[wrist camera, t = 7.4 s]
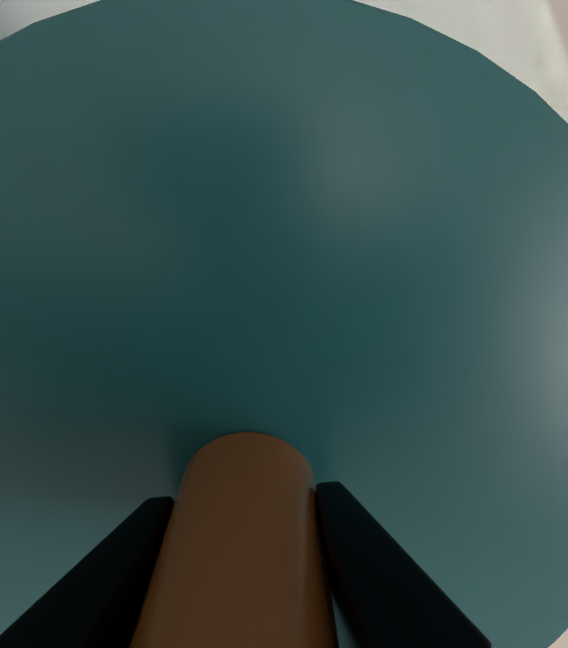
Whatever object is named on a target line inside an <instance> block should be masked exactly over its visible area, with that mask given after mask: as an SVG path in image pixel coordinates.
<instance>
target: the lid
mask: <svg viewBox="0 0 568 648" xmlns="http://www.w3.org/2000/svg"><path fill="white" fill-rule="evenodd" d="M330 481H339V482H341V483H342V484H343V485H344V486H345V487H346V488H347V489H348V490H349V491H350V493H351V494H352V495H353V496H354V497H355V498H356V499H357V500H358V501H359V502H360V503H361V504H362V505H363V506H364V507H365V508H366V509H367V511H368V512H369V513H370V514H371V515H372V516H373V517H374V518H375V519H376V520H377V521H378V522H379V523H380V524H381V525H382V526H383V528H384V529H385V530H386V531H387V532H388V533H389V534H390V535H391V536H392V537H393V538H394V539H395V540H396V541H397V542H398V543H399V545H400V546H401V547H402V548H403V549H404V550H405V551H406V552H407V553H408V554H409V555H410V556H411V557H412V558H413V559H414V560H415V561H416V563H417V564H418V565H419V566H420V567H421V568H422V569H423V570H424V571H425V572H426V573H427V574H428V575H429V576H430V577H431V578H432V580H433V581H434V582H435V583H436V584H437V585H438V586H439V587H440V588H441V589H442V590H443V591H444V592H445V593H446V594H447V595H448V596H449V598H450V599H451V600H452V601H453V602H454V603H455V604H456V605H457V606H458V607H459V608H460V609H461V610H462V611H463V612H464V613H465V615H466V616H467V617H468V618H469V619H470V620H471V621H472V622H473V623H474V624H475V625H476V626H477V627H478V628H479V629H480V630H481V631H482V633H483V634H484V635H485V636H486V637H487V638H488V639H489V640H490V641H491V643H492V648H548V647H549V646H550V645H551V644H553V643H554V642H555V641H556V640H557V639H558V638H559V637H560V636H561V634H563V633H564V632H565V631H566V630H567V628H568V123H567V122H566V121H565V120H564V119H562V118H561V117H560V116H559V115H558V114H557V113H556V112H555V111H554V110H553V109H552V108H551V107H550V106H549V105H548V104H547V103H546V102H545V101H544V100H543V99H542V98H541V97H540V96H539V95H538V94H537V93H536V92H535V91H533V90H532V89H531V88H529V87H528V86H526V85H525V84H523V83H522V82H521V81H519V80H518V79H516V78H515V77H513V76H512V75H511V74H509V73H508V72H506V71H505V70H504V69H502V68H501V67H499V66H498V65H496V64H495V63H494V62H492V61H491V60H489V59H488V58H486V57H485V56H484V55H482V54H481V53H479V52H478V51H476V50H474V49H472V48H470V47H468V46H466V45H464V44H462V43H460V42H458V41H456V40H454V39H452V38H450V37H448V36H446V35H444V34H442V33H440V32H438V31H436V30H433V29H431V28H429V27H427V26H425V25H423V24H421V23H419V22H417V21H415V20H413V19H411V18H408V17H405V16H401V15H398V14H395V13H392V12H389V11H385V10H382V9H379V8H376V7H372V6H369V5H366V4H363V3H360V2H356V1H353V0H100V1H97V2H94V3H91V4H88V5H85V6H82V7H79V8H77V9H74V10H71V11H68V12H65V13H62V14H59V15H56V16H53V17H50V18H47V19H44V20H41V21H38V22H35V23H33V24H31V25H29V26H27V27H25V28H23V29H21V30H20V31H18V32H16V33H14V34H12V35H10V36H8V37H6V38H5V39H3V40H1V41H0V634H2V633H3V632H4V631H5V630H6V629H7V628H8V627H9V626H10V625H11V624H12V623H13V622H15V621H16V620H17V619H18V618H19V617H20V616H21V615H22V614H23V613H24V612H25V611H26V610H27V609H29V608H30V607H31V606H32V605H33V604H34V603H35V602H36V601H37V600H38V599H39V598H40V597H42V596H43V595H44V594H45V593H46V592H47V591H48V590H49V589H50V588H51V587H52V586H53V585H54V584H56V583H57V582H58V581H59V580H60V579H61V578H62V577H63V576H64V575H65V574H66V573H67V572H69V571H70V570H71V569H72V568H73V567H74V566H75V565H76V564H77V563H78V562H79V561H80V560H82V559H83V558H84V557H85V556H86V555H87V554H88V553H89V552H90V551H91V550H92V549H93V548H94V547H96V546H97V545H98V544H99V543H100V542H101V541H102V540H103V539H104V538H105V537H106V536H107V535H109V534H110V533H111V532H112V531H113V530H114V529H115V528H116V527H117V526H118V525H119V524H120V523H121V522H123V521H124V520H125V519H126V518H127V517H128V516H129V515H130V514H131V513H132V512H133V511H134V510H136V509H137V508H138V507H139V506H140V505H141V504H142V503H143V502H144V501H145V500H147V499H148V498H152V497H162V496H171V497H172V498H173V499H174V501H175V503H174V506H173V509H172V512H171V515H170V519H169V522H168V525H167V528H166V531H165V535H164V538H163V541H162V544H161V547H160V551H159V554H158V557H157V560H156V563H155V567H154V570H153V573H152V576H151V579H150V582H149V586H148V589H147V592H146V595H145V598H144V602H143V605H142V608H141V611H140V614H139V618H138V621H137V624H136V627H135V630H134V634H133V637H132V640H131V643H130V646H129V648H340V647H339V641H338V634H337V627H336V621H335V614H334V608H333V601H332V594H331V588H330V581H329V574H328V568H327V563H326V557H325V551H324V544H323V537H322V531H321V524H320V517H319V510H318V504H317V497H316V485H317V483H319V482H330Z"/></svg>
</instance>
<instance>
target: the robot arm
mask: <svg viewBox="0 0 568 648" xmlns="http://www.w3.org/2000/svg"><path fill="white" fill-rule="evenodd" d="M316 497H317V504H318V510H319V517H320V524H321V531H322V537H323V544H324V551H325V557H326V563H327V568H328V574H329V581H330V588H331V594H332V601H333V608H334V614H335V621H336V627H337V634H338V641H339V647H340V648H492V643H491V641H490V640H489V639H488V638H487V637H486V636H485V635H484V634H483V633H482V631H481V630H480V629H479V628H478V627H477V626H476V625H475V624H474V623H473V622H472V621H471V620H470V619H469V618H468V617H467V616H466V615H465V613H464V612H463V611H462V610H461V609H460V608H459V607H458V606H457V605H456V604H455V603H454V602H453V601H452V600H451V599H450V598H449V596H448V595H447V594H446V593H445V592H444V591H443V590H442V589H441V588H440V587H439V586H438V585H437V584H436V583H435V582H434V581H433V580H432V578H431V577H430V576H429V575H428V574H427V573H426V572H425V571H424V570H423V569H422V568H421V567H420V566H419V565H418V564H417V563H416V561H415V560H414V559H413V558H412V557H411V556H410V555H409V554H408V553H407V552H406V551H405V550H404V549H403V548H402V547H401V546H400V545H399V543H398V542H397V541H396V540H395V539H394V538H393V537H392V536H391V535H390V534H389V533H388V532H387V531H386V530H385V529H384V528H383V526H382V525H381V524H380V523H379V522H378V521H377V520H376V519H375V518H374V517H373V516H372V515H371V514H370V513H369V512H368V511H367V509H366V508H365V507H364V506H363V505H362V504H361V503H360V502H359V501H358V500H357V499H356V498H355V497H354V496H353V495H352V494H351V493H350V491H349V490H348V489H347V488H346V487H345V486H344V485H343V484H342V483H341V482H339V481H330V482H319V483H317V485H316ZM174 503H175V501H174V499H173V498H172V497H171V496H162V497H152V498H148V499H147V500H145V501H144V502H143V503H142V504H141V505H140V506H139V507H138V508H137V509H136V510H134V511H133V512H132V513H131V514H130V515H129V516H128V517H127V518H126V519H125V520H124V521H123V522H121V523H120V524H119V525H118V526H117V527H116V528H115V529H114V530H113V531H112V532H111V533H110V534H109V535H107V536H106V537H105V538H104V539H103V540H102V541H101V542H100V543H99V544H98V545H97V546H96V547H94V548H93V549H92V550H91V551H90V552H89V553H88V554H87V555H86V556H85V557H84V558H83V559H82V560H80V561H79V562H78V563H77V564H76V565H75V566H74V567H73V568H72V569H71V570H70V571H69V572H67V573H66V574H65V575H64V576H63V577H62V578H61V579H60V580H59V581H58V582H57V583H56V584H54V585H53V586H52V587H51V588H50V589H49V590H48V591H47V592H46V593H45V594H44V595H43V596H42V597H40V598H39V599H38V600H37V601H36V602H35V603H34V604H33V605H32V606H31V607H30V608H29V609H27V610H26V611H25V612H24V613H23V614H22V615H21V616H20V617H19V618H18V619H17V620H16V621H15V622H13V623H12V624H11V625H10V626H9V627H8V628H7V629H6V630H5V631H4V632H3V633H2V634H0V648H129V646H130V643H131V640H132V637H133V634H134V630H135V627H136V624H137V621H138V618H139V614H140V611H141V608H142V605H143V602H144V598H145V595H146V592H147V589H148V586H149V582H150V579H151V576H152V573H153V570H154V567H155V563H156V560H157V557H158V554H159V551H160V547H161V544H162V541H163V538H164V535H165V531H166V528H167V525H168V522H169V519H170V515H171V512H172V509H173V506H174Z"/></svg>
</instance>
